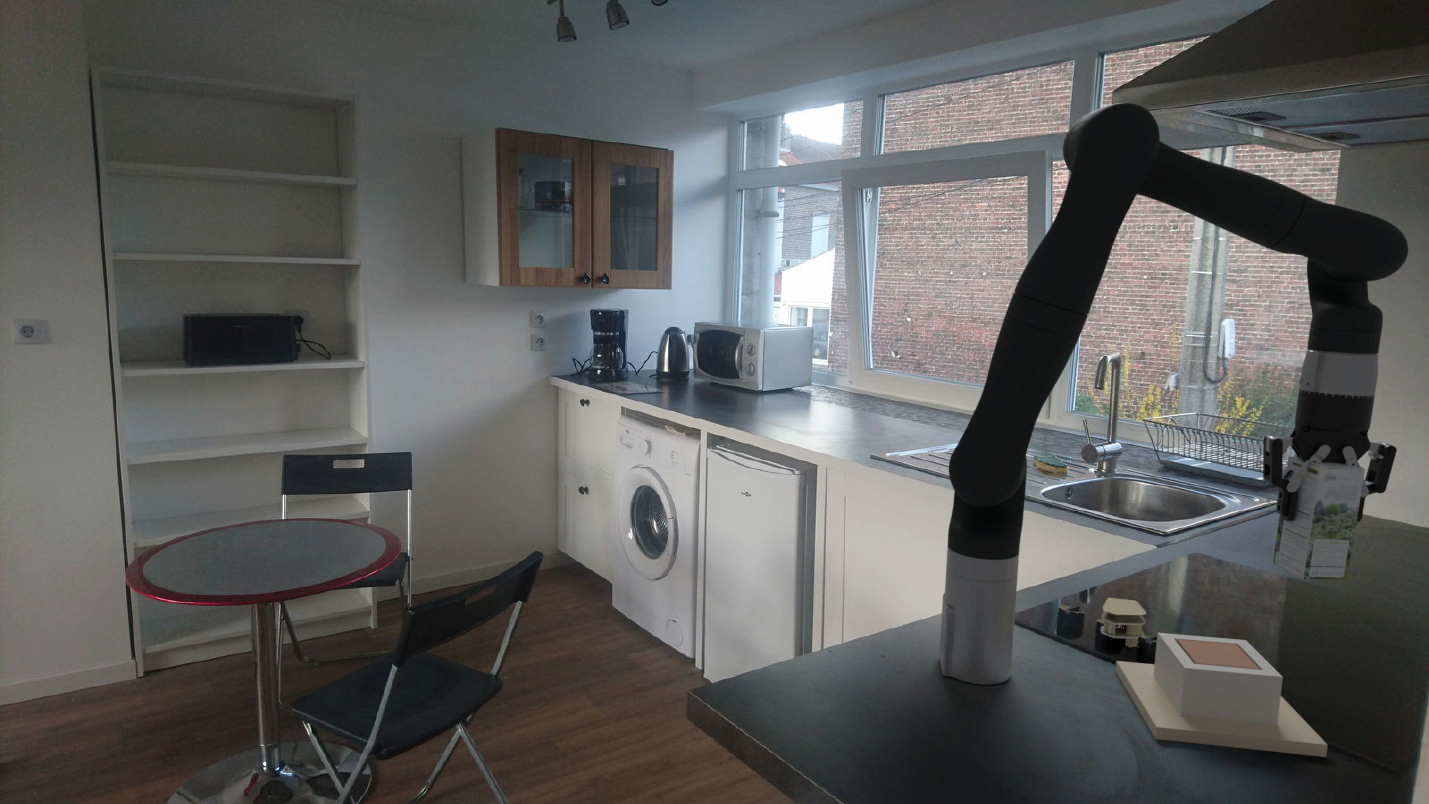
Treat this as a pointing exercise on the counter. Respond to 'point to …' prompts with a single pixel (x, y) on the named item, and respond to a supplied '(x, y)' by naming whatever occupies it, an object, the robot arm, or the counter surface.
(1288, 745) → the sleeve
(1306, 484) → the syrup box
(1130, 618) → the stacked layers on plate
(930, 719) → the counter surface
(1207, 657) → the plunger seat
